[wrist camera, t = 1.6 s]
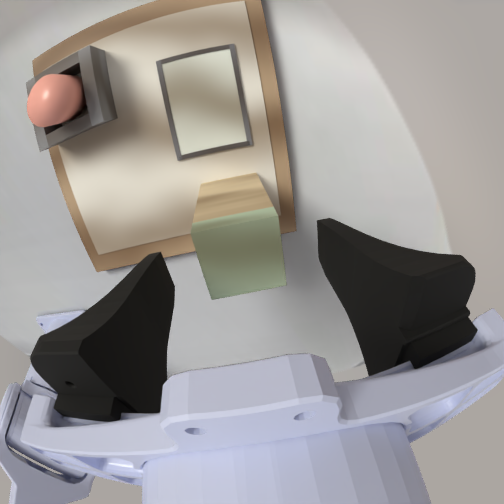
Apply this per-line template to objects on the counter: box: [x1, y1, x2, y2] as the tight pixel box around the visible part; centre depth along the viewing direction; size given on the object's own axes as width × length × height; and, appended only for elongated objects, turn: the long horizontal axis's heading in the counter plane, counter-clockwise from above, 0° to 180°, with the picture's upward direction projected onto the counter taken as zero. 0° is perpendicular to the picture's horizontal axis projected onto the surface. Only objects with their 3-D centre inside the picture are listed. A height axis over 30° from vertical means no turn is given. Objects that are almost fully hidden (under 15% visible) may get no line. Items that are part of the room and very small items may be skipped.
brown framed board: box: [26, 0, 296, 272], centre depth 14 cm, size 18×16×3 cm
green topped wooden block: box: [190, 173, 287, 300], centre depth 15 cm, size 4×4×7 cm
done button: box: [27, 74, 87, 127], centre depth 10 cm, size 3×3×3 cm
